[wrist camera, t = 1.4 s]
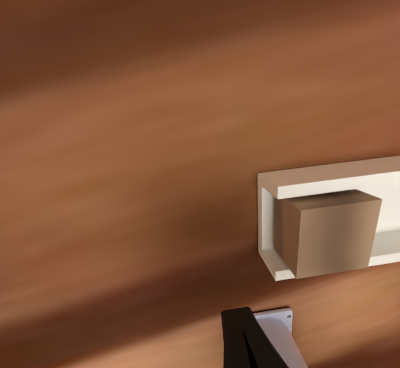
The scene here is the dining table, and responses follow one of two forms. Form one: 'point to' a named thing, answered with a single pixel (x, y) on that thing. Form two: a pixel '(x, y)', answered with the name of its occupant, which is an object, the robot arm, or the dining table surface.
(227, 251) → the dining table surface
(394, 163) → the chute
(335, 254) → the walnut block
